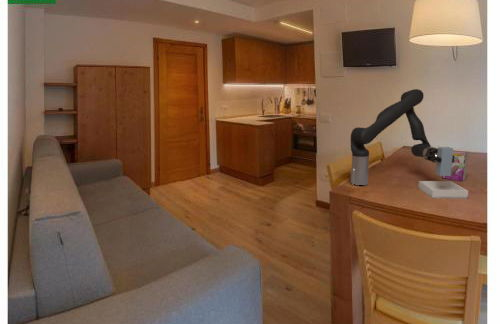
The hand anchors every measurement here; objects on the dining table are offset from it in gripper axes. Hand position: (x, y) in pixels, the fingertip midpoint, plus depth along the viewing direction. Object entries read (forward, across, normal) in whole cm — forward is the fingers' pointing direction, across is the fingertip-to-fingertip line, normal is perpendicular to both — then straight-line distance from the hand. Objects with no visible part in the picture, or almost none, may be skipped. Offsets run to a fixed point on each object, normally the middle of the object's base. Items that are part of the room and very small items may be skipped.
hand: (446, 160), depth 156 cm
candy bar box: (-30, +18, +18) cm, 40 cm away
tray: (-2, 0, +18) cm, 18 cm away
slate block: (-3, 0, +8) cm, 8 cm away
